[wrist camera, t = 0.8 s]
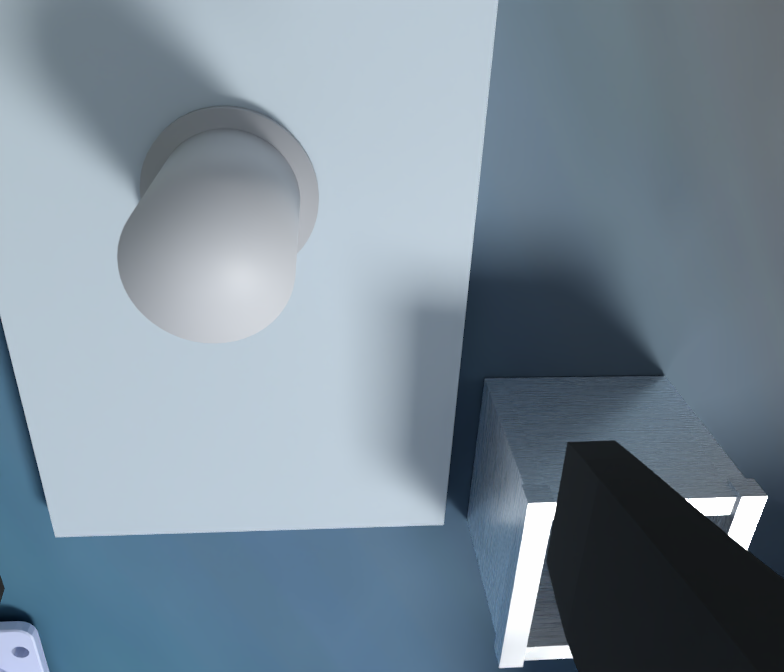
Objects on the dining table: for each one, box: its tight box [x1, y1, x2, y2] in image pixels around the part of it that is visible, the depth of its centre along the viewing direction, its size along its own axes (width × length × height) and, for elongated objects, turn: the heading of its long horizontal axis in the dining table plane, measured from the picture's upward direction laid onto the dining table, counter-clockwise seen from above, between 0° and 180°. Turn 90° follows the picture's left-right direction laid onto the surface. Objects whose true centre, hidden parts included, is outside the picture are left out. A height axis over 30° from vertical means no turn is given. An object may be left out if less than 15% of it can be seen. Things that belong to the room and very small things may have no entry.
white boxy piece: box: [467, 376, 768, 668], centre depth 19 cm, size 5×5×5 cm
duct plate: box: [0, 0, 498, 537], centre depth 15 cm, size 18×11×5 cm, turn 177°
